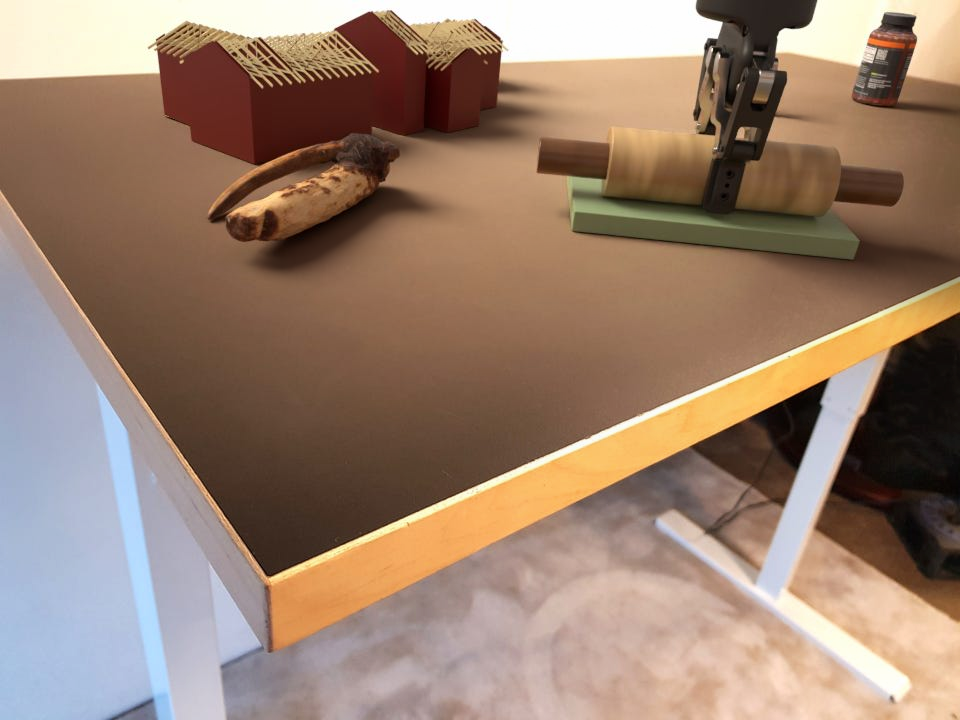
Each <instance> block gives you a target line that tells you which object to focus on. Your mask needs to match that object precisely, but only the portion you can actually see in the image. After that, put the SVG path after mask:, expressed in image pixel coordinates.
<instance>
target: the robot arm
mask: <svg viewBox="0 0 960 720" xmlns="http://www.w3.org/2000/svg"><path fill="white" fill-rule="evenodd" d="M818 2H819V1H818V0H696V2H695V10H696V13H697V14H698V15H699V16H700V17H702V18H704V19H708V20H711V21H716V22H719V23H721V27H720V30H719V33H718V35H717V38H714V37H708V38H707V39H706V42H705V43H704V45H703V57H702V63H701V70H700V74H699V75H700V76H699V81H698V86H697V87H698V88H697V92H696V100H695V106H694V109H693V111H692V116H693V122H696V123H695V126H694V130H695V134H702V135H713V136H715V140H714V147H713V149H712V154H713V158H712V160H711V165H710V169H709V173H708V178H707V182H706V186H705V191H704V195H703V199H702V207H703V208H704V210H705V211H706V212H708V213H717V214H730V213H732V212H733V211H734V209H735V206H736V202H737V198H738V194H739V190H740V186H741V182H742V178H743V174H744V170H745V166H746V163H750V162H751V160H753V161H759V160H760V158H761V156H762V154H763V149H764V146H765V143H766V141H768V137H769V134H770V131H771V129H772V126H773V123H774V119H775V117H776V114H777V111H778V108H779V105H780V102H781V100H782V97H783V93H784V91H785V88H786V86H787V83H788V72H787V71H786V70H779V69H778V68H779V58H778V57H776V55H777V45H778V41H779V40H778V39H779V38H778V36H779V34H780V32H781V31H783V30H785V29H787V30H799V29H800V30H801V29H804V28H806V27H808V26H809V25H810V24H811V23H812V21H813V19H814V15H815V11H816V8H817V4H818ZM712 91H713V92H712ZM741 128H743V129H744V133H743V138H744V140H735V139H736V138H737V137H738V132H739V130H740V129H741Z"/></svg>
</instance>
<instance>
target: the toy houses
mask: <svg viewBox="0 0 960 720" xmlns="http://www.w3.org/2000/svg"><path fill="white" fill-rule="evenodd" d="M503 43H504V41H503V40H502V38H501V37H500V36H499V35H498V34H497V33H495V32H494V31H493V30H491V29H490V28H489V27H488V26H487V25H484V24H482V23H481V22H480V21H478V19H477V18H472V19H470V20H469V19H468V18H467V19H465V20H463V19H461V20H456V19H452V20H451V19H450V18H446V19H444V20H443V21H442V22H440V21H437V22H436V21H435V22H433V21H432V22H430V23H428V22H425V23H423V24H422V23H412V24H410V25H409V24H408V23H406V22H405V21H404V20H403V19H402V18H401V17H400V16H399V15H397V14H396V13H395V12H394V10H392V9H390V10H389V9H386V10H381V11H379V10H376V11H373V10H371V11H370V10H369V11H367V12H365V13H363V14H360V15H359V16H357V17H354V18H353V19H351V20H349V21H347V22H344V23H343V24H341V25H339V26H337V27H334V28H333V30H331V31H326V32H323V33H322V31H319V32H318V33H314V32H310V33H309V34H306V33H305V32H303V33H299V34H298V33H294V34H292V35H288V34H285V35H284V36H282V37H281V36H280V34H279V35H276V36H272V35H268V36H266V37H265V38H263V37H262V36H258V37H257V36H255V37H253V38H252V37H250V36H244V35H242V34H237V33H235V32H232V33H231V32H229V31H228V30H222V29H221V28H220V29H217V28H214V27H210V26H208V25H203V24H201V23H199V24H197V23H195V22H190V21H188V20H185V21H184V22H182V23H181V24H179V25H178V26H176V27H175V28H173V29H171V30H170V31H168V32H167V33H163V34H162V35H160V36H159V37H157V38H155V41H154V42H153V43H152V44H150V45H149V46H147V49H148V50H150V49H151V48H153V47H154V48H153V51H154V52H157V61H158V62H157V63H158V69H159V78H160V79H159V80H160V87H161V97H162V105H163V113H164V116H165V115H167V116H169V117H171V118H174V119H176V120H178V121H177V122H179V121H180V122H179V123H181V122H183V123H182V124H184V123H185V124H184V125H187V126H189V129H190V130H189V131H190V140H191V141H192V142H195V143H197V144H200V145H202V146H205V147H208V148H210V149H213V150H216V151H219V152H221V153H224V154H226V155H229V156H232V157H234V158H236V159H239V160H240V159H241V160H242V161H245V162H248V163H250V164H253V165H257V164H262V163H268V162H270V161H272V160H275V159H277V158H279V157H281V156H284V155H286V154H288V153H291V152H294V151H296V150H299V149H303V148H307V147H310V146H314V145H317V144H322V143H328V142H331V141H340V140H342V139H344V138H345V137H347V136H349V135H350V134H351V133H353V134H358V133H359V134H367V135H371V136H373V134H372V133H373V132H372V131H373V127H375V128H377V129H381V130H385V131H389V132H391V133H395V134H398V135H400V136H401V135H402V136H406V135H410V134H414V133H420V132H423V131H424V127H427V128H431V129H434V130H438V131H440V132H444V133H448V134H449V133H452V132H456V131H462V130H466V129H469V128H473V127H474V128H475V127H477V126H480V115H481V111H483V110H487V109H492V108H496V107H497V106H498V97H499V95H498V94H499V87H500V85H499V84H500V74H501V65H502V64H501V62H502V53H503V52H504V51H506V52H509V49H508V48H507V47H506V46H504V44H503ZM155 46H156V47H155ZM176 120H175V121H176Z"/></svg>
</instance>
